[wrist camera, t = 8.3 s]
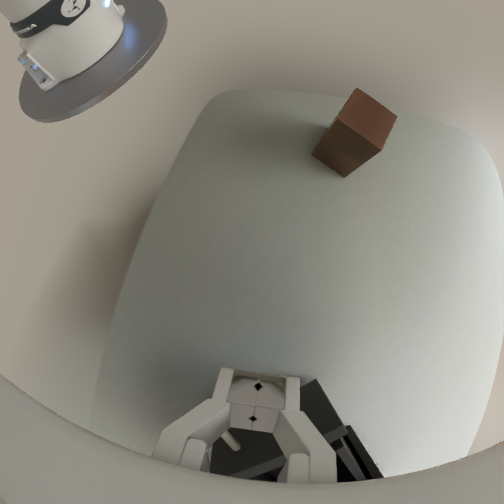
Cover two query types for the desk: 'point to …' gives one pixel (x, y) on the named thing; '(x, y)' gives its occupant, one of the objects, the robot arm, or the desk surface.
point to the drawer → (269, 452)
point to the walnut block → (355, 134)
